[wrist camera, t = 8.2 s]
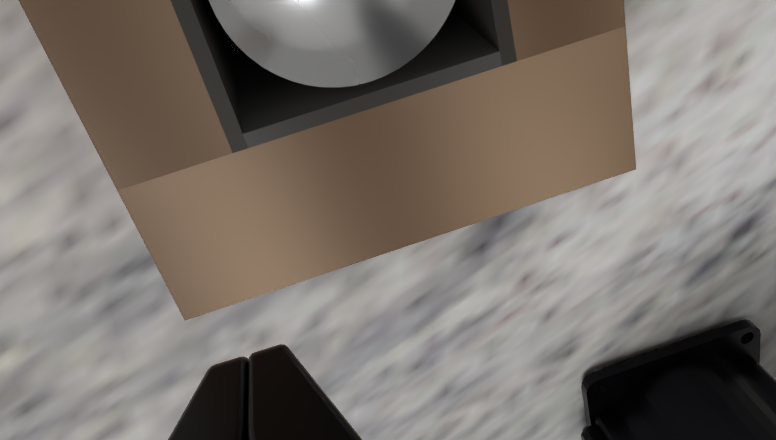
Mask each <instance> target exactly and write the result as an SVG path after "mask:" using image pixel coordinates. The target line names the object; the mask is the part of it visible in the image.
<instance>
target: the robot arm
mask: <svg viewBox="0 0 776 440" xmlns="http://www.w3.org/2000/svg"><path fill="white" fill-rule="evenodd" d="M759 360H760V330H759V329H758V328H757V327H756V326H755V325H754V324H753V323H752V322H751V321H750V320H741V321H738V322H735V323H732V324H729V325H727V326H724V327H721V328H718V329H715V330H712V331H709V332H707V333H704V334H701V335H698V336H695V337H692V338H689V339H687V340H684V341H681V342H678V343H675V344H672V345H669V346H667V347H664V348H661V349H658V350H655V351H652V352H649V353H647V354H644V355H641V356H638V357H635V358H632V359H629V360H627V361H624V362H621V363H618V364H615V365H612V366H609V367H607V368H604V369H601V370H598V371H595V372H593V373H591V374H589V375H588V376H587V377H585V378H584V380H583V382H582V394H583V400H584V407H585V414H586V421H587V426H586V427H584V429H583V431H582V434H581V437H582V440H776V381H775V380H774V378H773V377H772V376H771V375H770V374H769V373H768V372H767V371H766V370H765V369H764V368H763V367H762V366H761V365H760V364H759ZM598 385H599V386H598ZM596 386H597V387H596ZM168 440H362V439H361V438H360V436H359V435H358V434H357V433H356V431H355V430H354V429H353V428H352V426H351V425H350V424H349V423H348V421H347V420H346V419H345V418H344V416H343V415H342V414H341V413H340V411H339V410H338V409H337V408H336V406H335V405H334V404H333V403H332V402H331V400H330V399H329V398H328V397H327V395H326V394H325V393H324V392H323V390H322V389H321V388H320V387H319V385H318V384H317V383H316V382H315V380H314V379H313V378H312V377H311V375H310V374H309V373H308V372H307V370H306V369H305V368H304V367H303V365H302V364H301V363H300V362H299V360H298V359H297V358H296V357H295V355H294V354H293V353H292V352H291V350H290V349H289V348H288V347H287V346H285V345H282V344H281V345H277V346H274V347H270V348H267V349H264V350H261V351H258V352H255V353H253V354H252V355H251V356H250V357H249V359H248V358H246V357H238V358H235V359H232V360H229V361H225V362H222V363H219V364H216V365H214V366H212V367H210V368H209V369H208V371H207V372H206V374H205V376H204V378H203V379H202V381H201V383H200V385H199V386H198V388H197V390H196V392H195V393H194V395H193V397H192V399H191V400H190V402H189V404H188V406H187V407H186V409H185V411H184V413H183V414H182V416H181V418H180V420H179V422H178V423H177V425H176V427H175V429H174V430H173V432H172V434H171V436H170V437H169V439H168Z"/></svg>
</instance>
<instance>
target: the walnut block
mask: <svg viewBox="0 0 776 440" xmlns="http://www.w3.org/2000/svg"><path fill="white" fill-rule="evenodd" d="M19 2H20V4H21V6H22V8H23V10H24V11H25V13H26V15H27V17H28V19H29V21H30V23H31V25H32V27H33V29H34V31H35V33H36V35H37V37H38V38H39V40H40V42H41V44H42V46H43V48H44V50H45V52H46V54H47V56H48V58H49V60H50V62H51V64H52V65H53V67H54V69H55V71H56V73H57V75H58V77H59V79H60V81H61V83H62V85H63V87H64V89H65V90H66V92H67V94H68V96H69V98H70V100H71V102H72V104H73V106H74V108H75V110H76V112H77V114H78V116H79V117H80V119H81V121H82V123H83V125H84V127H85V129H86V131H87V133H88V135H89V137H90V139H91V141H92V143H93V144H94V146H95V148H96V150H97V152H98V154H99V156H100V158H101V160H102V162H103V164H104V166H105V168H106V170H107V171H108V173H109V175H110V177H111V179H112V181H113V183H114V185H115V187H116V189H117V191H118V193H119V195H120V196H121V198H122V200H123V202H124V204H125V206H126V208H127V210H128V212H129V214H130V216H131V218H132V220H133V222H134V223H135V225H136V227H137V229H138V231H139V233H140V235H141V237H142V239H143V241H144V243H145V245H146V247H147V249H148V250H149V252H150V254H151V256H152V258H153V260H154V262H155V264H156V266H157V268H158V270H159V272H160V274H161V276H162V277H163V279H164V281H165V283H166V285H167V287H168V289H169V291H170V293H171V295H172V297H173V299H174V301H175V302H176V304H177V306H178V308H179V310H180V312H181V314H182V316H183V318H184V320H188V319H191V318H194V317H197V316H200V315H203V314H206V313H209V312H212V311H214V310H217V309H220V308H223V307H226V306H229V305H232V304H235V303H238V302H241V301H244V300H247V299H250V298H253V297H256V296H259V295H262V294H265V293H268V292H271V291H274V290H277V289H280V288H283V287H286V286H289V285H292V284H295V283H298V282H301V281H304V280H307V279H310V278H313V277H316V276H319V275H322V274H325V273H328V272H331V271H334V270H337V269H340V268H343V267H346V266H349V265H352V264H355V263H358V262H361V261H364V260H367V259H370V258H373V257H376V256H379V255H381V254H384V253H387V252H390V251H393V250H396V249H399V248H402V247H405V246H408V245H411V244H414V243H417V242H420V241H423V240H426V239H429V238H432V237H435V236H438V235H441V234H444V233H447V232H450V231H453V230H456V229H459V228H462V227H465V226H468V225H471V224H474V223H477V222H480V221H483V220H486V219H489V218H492V217H495V216H498V215H501V214H504V213H507V212H510V211H513V210H516V209H519V208H522V207H525V206H528V205H531V204H534V203H537V202H540V201H543V200H546V199H549V198H551V197H554V196H557V195H560V194H563V193H566V192H569V191H572V190H575V189H578V188H581V187H584V186H587V185H590V184H593V183H596V182H599V181H602V180H605V179H608V178H611V177H614V176H617V175H620V174H623V173H626V172H629V171H632V170H635V169H636V162H635V148H634V135H633V121H632V108H631V94H630V81H629V67H628V54H627V40H626V27H625V13H624V0H455V2H454V5H453V7H452V9H451V11H450V13H449V15H448V17H447V19H446V21H445V22H444V24H443V25H442V27H441V28H440V30H439V31H438V33H437V34H436V36H435V37H434V38H433V39H432V40H431V41H430V43H429V44H428V45H427V46H426V47H425V48H424V49H423V50H422V51H421V52H420V53H419V54H418V55H416V56H415V57H414V58H413V59H412V60H410V61H409V62H408V63H406V64H405V65H403V66H402V67H401V68H399V69H397V70H395V71H393V72H392V73H390V74H388V75H386V76H384V77H381V78H379V79H376V80H373V81H371V82H367V83H363V84H359V85H355V86H347V87H317V86H309V85H305V84H301V83H297V82H293V81H290V80H288V79H285V78H283V77H280V76H278V75H276V74H274V73H272V72H270V71H269V70H267V69H265V68H263V67H262V66H260V65H259V64H258V63H256V62H255V61H254V60H252V59H251V58H250V57H248V56H247V55H246V54H245V53H244V52H243V51H242V50H241V51H238V52H235V53H233V51H232V48H231V46H230V43H229V40H228V38H227V35H226V32H225V30H224V29H223V27H222V25H221V24H220V22H219V20H218V19H217V17H216V15H215V13H214V11H213V9H212V7H211V4H210V2H209V0H19Z"/></svg>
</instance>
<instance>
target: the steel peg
mask: <svg viewBox="0 0 776 440" xmlns="http://www.w3.org/2000/svg"><path fill="white" fill-rule="evenodd" d="M209 2H210V4H211V7H212V9H213V11H214V13H215V15H216V17H217V19H218V20H219V22H220V24H221V25H222V27H223V29H224V30H225V32H226V33H227V34H228V35H229V37H230V38H231V39H232V40H233V42H234V43H235V44H236V45H237V46H238V47H239V48H240V49H241V50H242V51H243V52H244V53H245V54H246V55H247V56H248V57H250V58H251V59H252V60H254V61H255V62H256V63H258V64H259V65H260V66H262V67H263V68H265V69H267V70H269V71H270V72H272V73H274V74H276V75H278V76H280V77H283V78H285V79H288V80H290V81H293V82H297V83H301V84H305V85H309V86H317V87H347V86H355V85H359V84H363V83H367V82H371V81H373V80H376V79H379V78H381V77H384V76H386V75H388V74H390V73H392V72H393V71H395V70H397V69H399V68H401V67H402V66H403V65H405V64H406V63H408V62H409V61H410V60H412V59H413V58H414V57H415V56H416V55H418V54H419V53H420V52H421V51H422V50H423V49H424V48H425V47H426V46H427V45H428V44H429V43H430V41H431V40H432V39H433V38H434V37H435V36H436V34H437V33H438V31H439V30H440V28H441V27H442V25H443V24H444V22H445V21H446V19H447V17H448V15H449V13H450V11H451V9H452V7H453V5H454V2H455V0H209Z"/></svg>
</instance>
